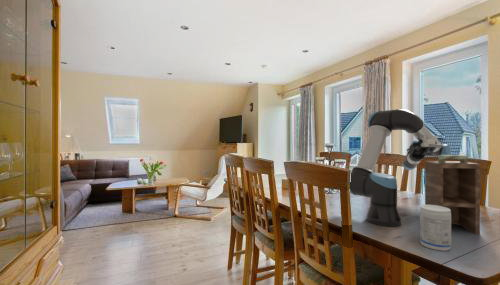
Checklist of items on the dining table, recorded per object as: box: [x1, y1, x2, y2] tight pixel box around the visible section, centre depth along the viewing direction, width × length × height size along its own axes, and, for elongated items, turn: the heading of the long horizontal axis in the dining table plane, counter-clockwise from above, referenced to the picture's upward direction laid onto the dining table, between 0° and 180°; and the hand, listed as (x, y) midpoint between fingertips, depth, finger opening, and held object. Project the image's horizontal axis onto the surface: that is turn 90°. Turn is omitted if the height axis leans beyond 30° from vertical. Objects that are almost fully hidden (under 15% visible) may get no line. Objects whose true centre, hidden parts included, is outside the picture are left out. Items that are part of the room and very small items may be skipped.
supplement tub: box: [419, 204, 452, 252], centre depth 94 cm, size 10×10×15 cm
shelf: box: [424, 154, 481, 235], centre depth 114 cm, size 15×14×33 cm
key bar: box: [421, 139, 443, 147], centre depth 131 cm, size 4×18×4 cm, turn 166°
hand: (430, 137), depth 132 cm, fingers closed on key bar, 4 cm apart
